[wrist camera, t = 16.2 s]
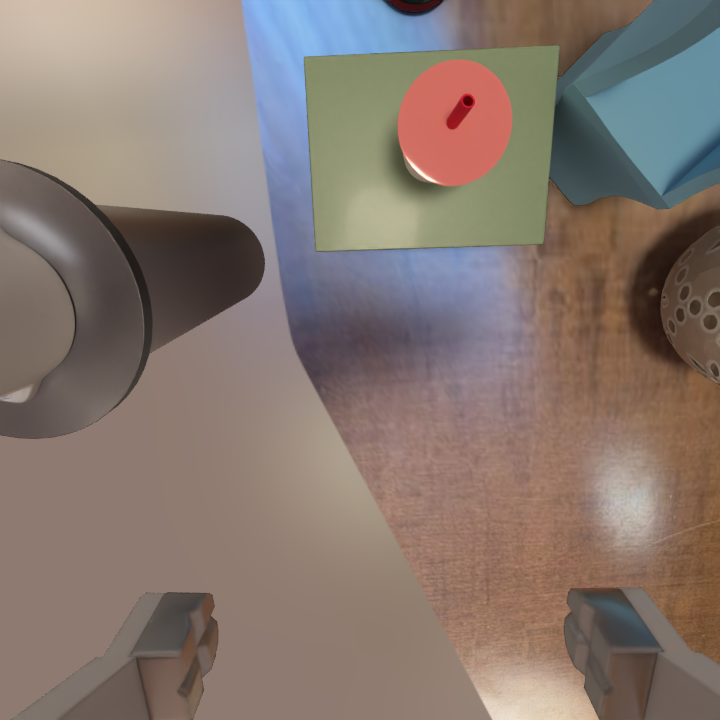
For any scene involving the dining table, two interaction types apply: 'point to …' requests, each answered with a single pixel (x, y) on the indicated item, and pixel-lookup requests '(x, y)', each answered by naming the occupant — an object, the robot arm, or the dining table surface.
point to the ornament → (695, 305)
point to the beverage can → (414, 4)
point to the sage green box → (387, 166)
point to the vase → (643, 109)
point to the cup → (454, 123)
